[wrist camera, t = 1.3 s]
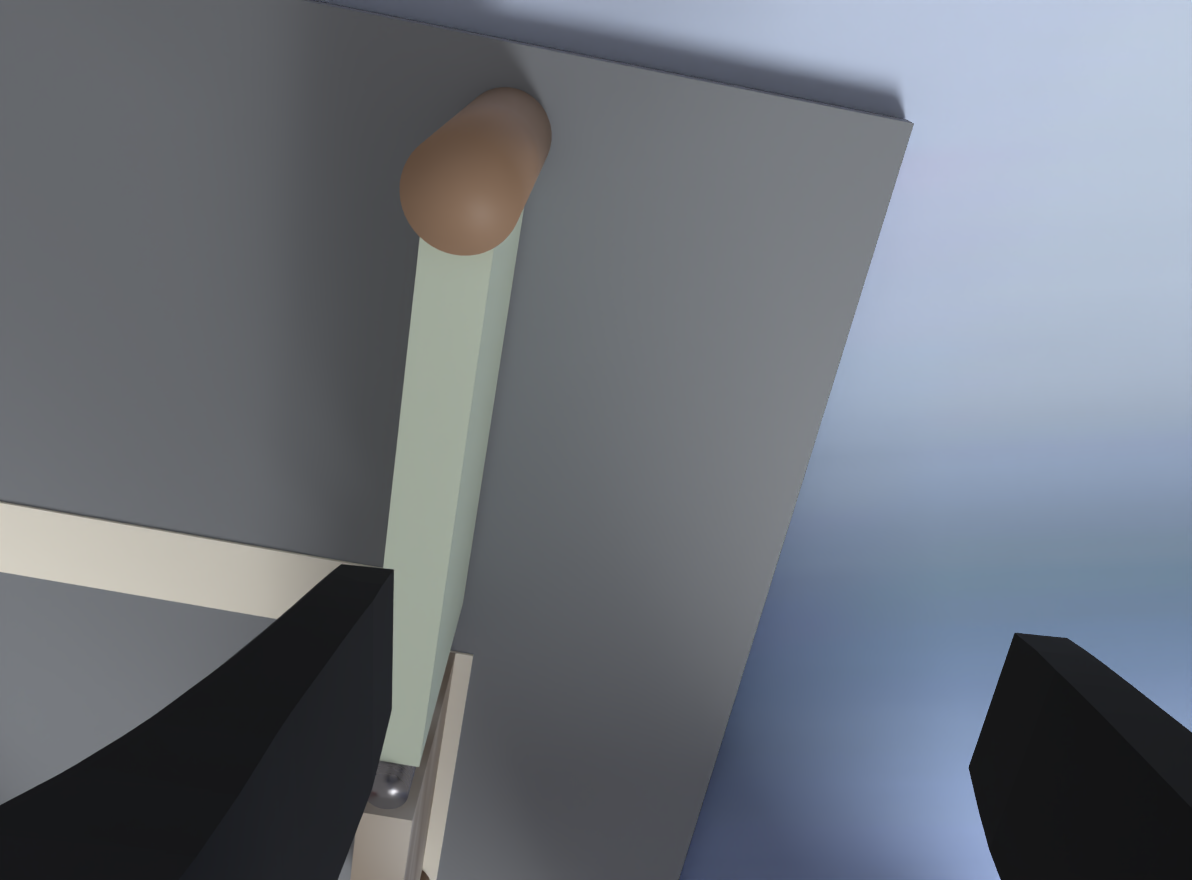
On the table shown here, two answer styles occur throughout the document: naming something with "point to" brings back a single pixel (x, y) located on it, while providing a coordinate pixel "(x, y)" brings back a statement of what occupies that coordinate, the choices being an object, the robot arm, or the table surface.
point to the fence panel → (449, 390)
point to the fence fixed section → (404, 813)
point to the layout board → (375, 385)
